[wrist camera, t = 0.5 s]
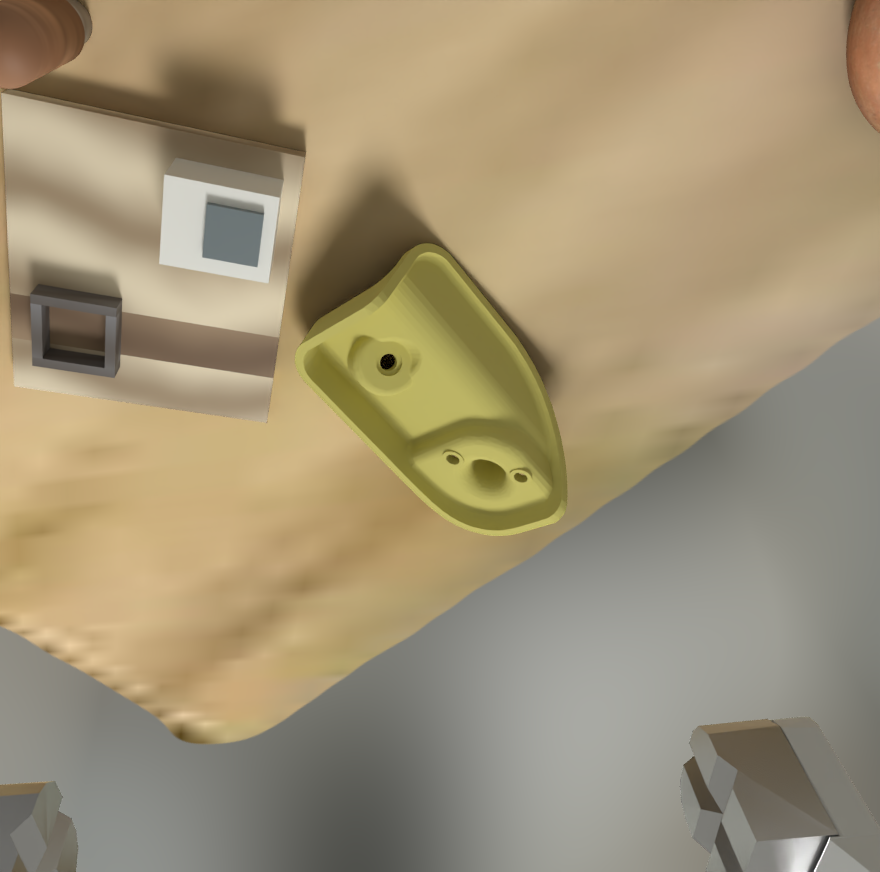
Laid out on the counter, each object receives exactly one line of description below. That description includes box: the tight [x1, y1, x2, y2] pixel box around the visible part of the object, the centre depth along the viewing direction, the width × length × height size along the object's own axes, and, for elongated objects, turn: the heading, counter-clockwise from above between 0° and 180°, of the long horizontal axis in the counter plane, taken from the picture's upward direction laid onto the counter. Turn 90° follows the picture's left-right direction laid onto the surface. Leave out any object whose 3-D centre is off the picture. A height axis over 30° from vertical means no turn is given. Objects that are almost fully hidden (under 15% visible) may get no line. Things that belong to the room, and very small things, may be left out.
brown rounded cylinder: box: [0, 0, 92, 89], centre depth 38 cm, size 3×3×10 cm
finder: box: [159, 158, 284, 283], centre depth 46 cm, size 6×5×4 cm
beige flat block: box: [1, 89, 306, 423], centre depth 49 cm, size 18×16×3 cm
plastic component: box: [295, 243, 567, 536], centre depth 55 cm, size 20×7×10 cm
